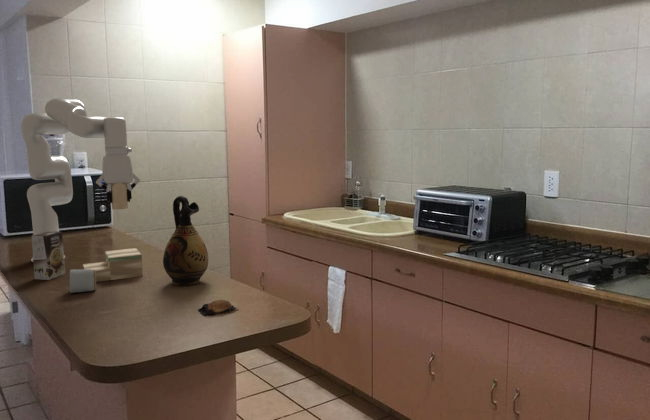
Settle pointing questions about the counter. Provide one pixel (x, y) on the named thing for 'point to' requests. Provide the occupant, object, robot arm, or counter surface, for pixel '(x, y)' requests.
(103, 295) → the counter surface
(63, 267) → the coffee box
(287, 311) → the counter surface
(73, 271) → the ceramic mug
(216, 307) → the turtle figurine
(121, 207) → the candle
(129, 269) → the step stand
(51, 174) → the robot arm
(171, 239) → the painted pottery vase
